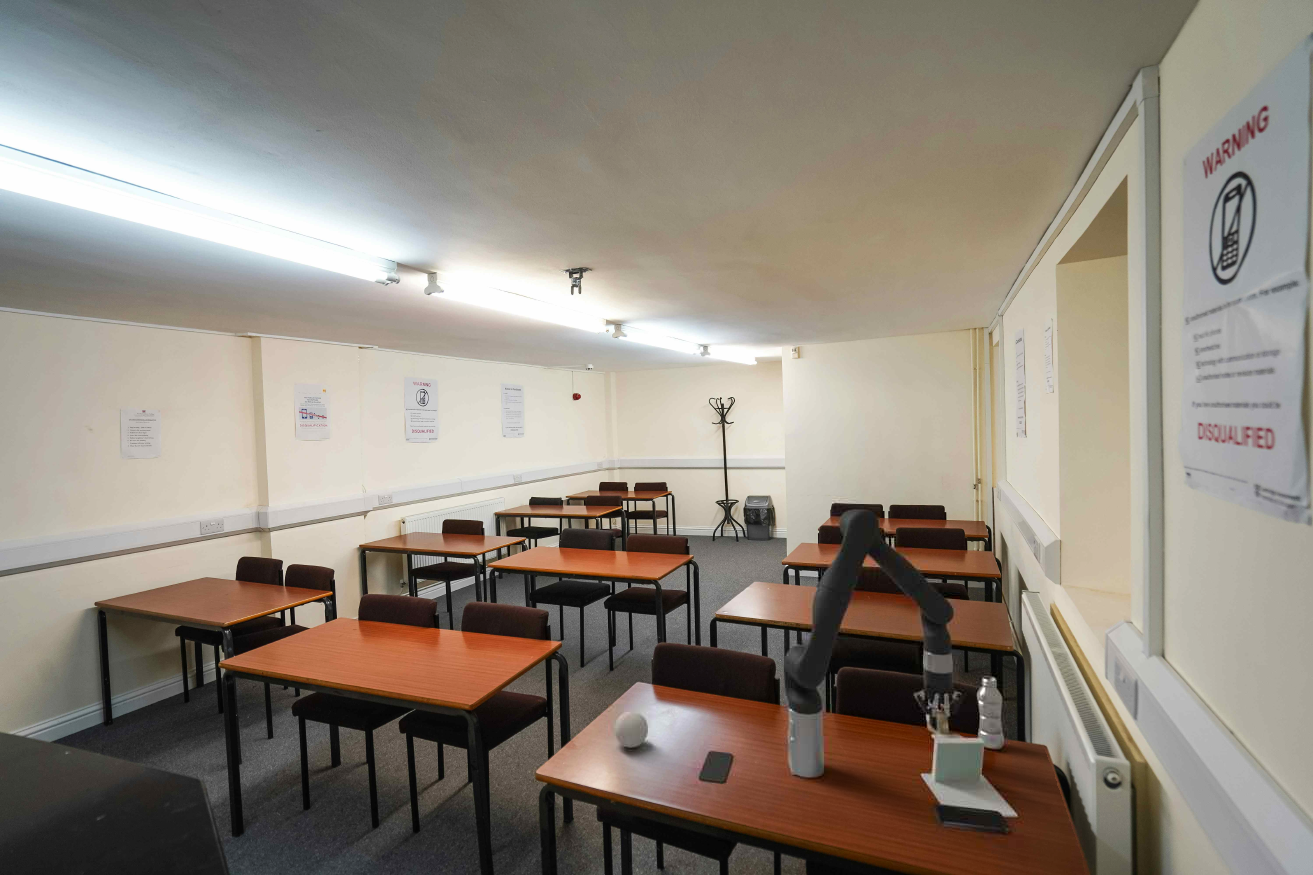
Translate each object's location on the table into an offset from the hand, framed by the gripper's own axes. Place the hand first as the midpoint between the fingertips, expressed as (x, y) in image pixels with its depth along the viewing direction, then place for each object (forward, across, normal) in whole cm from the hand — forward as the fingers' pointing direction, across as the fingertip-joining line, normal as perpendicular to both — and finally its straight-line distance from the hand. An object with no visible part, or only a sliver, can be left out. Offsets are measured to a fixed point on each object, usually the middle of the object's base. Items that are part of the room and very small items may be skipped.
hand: (939, 728), depth 170 cm
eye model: (+10, -88, +10) cm, 89 cm away
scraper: (+1, 0, -4) cm, 4 cm away
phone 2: (+10, -4, -26) cm, 28 cm away
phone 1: (+10, -63, -2) cm, 64 cm away
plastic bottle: (+10, +18, +8) cm, 22 cm away
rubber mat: (+9, 0, -16) cm, 18 cm away
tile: (+9, 0, -10) cm, 13 cm away
